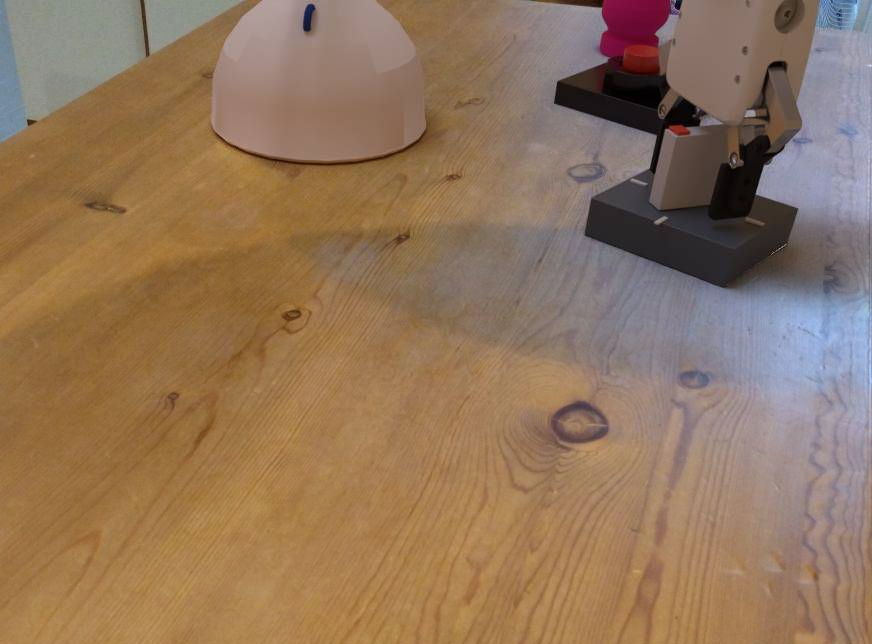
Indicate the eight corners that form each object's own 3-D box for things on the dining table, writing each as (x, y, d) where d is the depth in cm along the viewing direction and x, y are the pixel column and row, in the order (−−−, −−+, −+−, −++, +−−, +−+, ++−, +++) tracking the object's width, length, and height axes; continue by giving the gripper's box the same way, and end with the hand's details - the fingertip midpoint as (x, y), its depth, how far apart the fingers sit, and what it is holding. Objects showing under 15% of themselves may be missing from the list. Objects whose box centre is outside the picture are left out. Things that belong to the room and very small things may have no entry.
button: (666, 70, 102) (670, 51, 101) (646, 78, 100) (650, 58, 99) (634, 61, 104) (637, 42, 103) (614, 69, 102) (617, 50, 101)
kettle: (437, 95, 106) (454, -114, 94) (412, 175, 91) (430, -63, 79) (240, 79, 109) (233, -127, 97) (183, 154, 93) (167, -80, 81)
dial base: (790, 242, 82) (803, 203, 80) (719, 290, 76) (731, 249, 74) (655, 196, 88) (663, 159, 86) (579, 236, 82) (586, 197, 80)
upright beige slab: (729, 193, 82) (750, 117, 78) (740, 202, 80) (762, 125, 77) (648, 202, 80) (665, 125, 76) (658, 210, 79) (676, 133, 75)
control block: (712, 111, 104) (723, 68, 102) (659, 136, 99) (669, 92, 96) (608, 81, 111) (616, 40, 108) (553, 103, 105) (559, 61, 102)
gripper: (903, -41, 63) (809, 238, 74) (740, -99, 75) (681, 147, 87) (794, -35, 61) (715, 249, 73) (646, -96, 74) (599, 154, 85)
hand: (697, 192), depth 80 cm, fingers open, 7 cm apart
